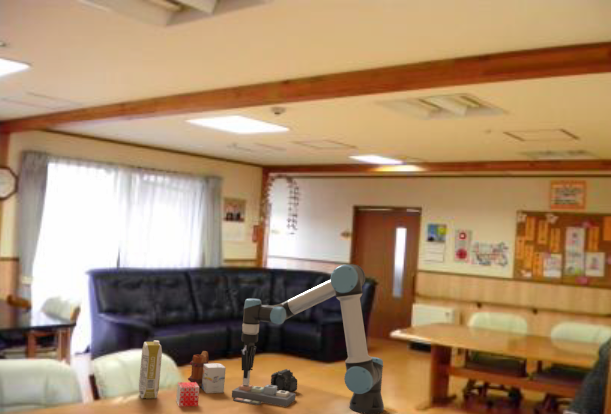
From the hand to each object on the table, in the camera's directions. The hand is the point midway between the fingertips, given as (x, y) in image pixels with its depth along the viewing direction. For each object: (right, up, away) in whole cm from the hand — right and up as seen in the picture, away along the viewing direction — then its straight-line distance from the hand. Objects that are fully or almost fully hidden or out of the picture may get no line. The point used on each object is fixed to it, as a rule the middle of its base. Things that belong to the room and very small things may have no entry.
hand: (245, 384), depth 275 cm
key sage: (+5, -4, -2) cm, 7 cm away
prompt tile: (+2, -5, -10) cm, 11 cm away
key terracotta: (0, -4, 0) cm, 4 cm away
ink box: (-16, -4, +4) cm, 17 cm away
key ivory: (+17, -5, -6) cm, 19 cm away
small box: (-23, -3, -19) cm, 30 cm away
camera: (+16, -7, +15) cm, 23 cm away
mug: (-23, -4, +13) cm, 27 cm away
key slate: (+11, -3, -4) cm, 12 cm away
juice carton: (-41, -1, -13) cm, 43 cm away
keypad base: (+8, -5, -3) cm, 10 cm away
